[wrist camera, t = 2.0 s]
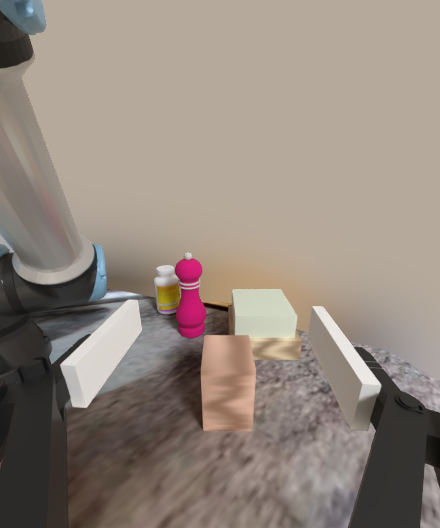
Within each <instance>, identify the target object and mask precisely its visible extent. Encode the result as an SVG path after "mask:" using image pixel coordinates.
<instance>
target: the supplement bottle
mask: <svg viewBox="0 0 440 528" xmlns="http://www.w3.org/2000/svg"><path fill="white" fill-rule="evenodd" d="M156 270H157V274H158V276H157V277H156V278H155V279H154V286H155V294H156V304H157V310H158V312H159V313H161V314H173V313H175V312H176V311H177V308H178V305H179V303H180V295H179V283H178V277H177V276H176V275H174V274H173V273H174V267H173V266H170V265H165V266H160V267H158V268H157V269H156Z"/></svg>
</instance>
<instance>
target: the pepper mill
mask: <svg viewBox="0 0 440 528" xmlns="http://www.w3.org/2000/svg"><path fill="white" fill-rule="evenodd" d="M184 258H185V259H183V260H181V261H179V262H178V263H177V265H176V268H175V273H176V276H177V277H178V278H179V280H178V283H179V287H180V288H181V300H180V303H179V305H178V308H177V311H176V319H177V321H178V323H179V332H180V334H181V335H182V336H184V337H187V338H194V337H198V336H200V335H201V334H202V333H203V332H204V330H205V323H204V320H205V318H206V309H205V307H204V305H203V303H202V301H201V299H200V297H199V293H198V292H199V291H198V290H199V286H200V278H199V277H200V276H201V274H202V266H201V264H200V263H199V262H198V261H197V260H195V259H192V254H191V253H190V252H186V253H185V254H184Z"/></svg>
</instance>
